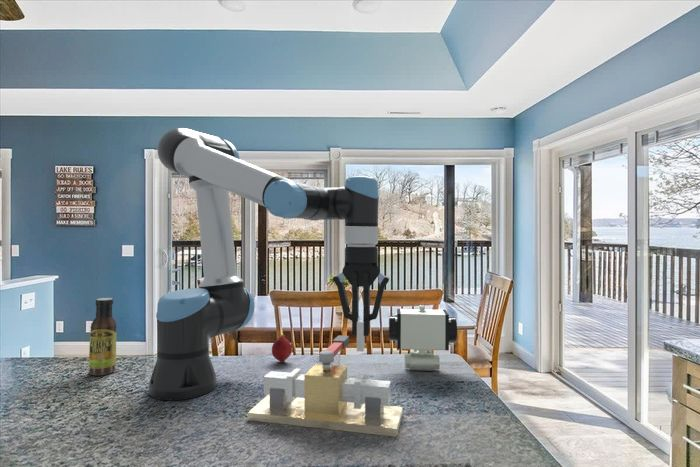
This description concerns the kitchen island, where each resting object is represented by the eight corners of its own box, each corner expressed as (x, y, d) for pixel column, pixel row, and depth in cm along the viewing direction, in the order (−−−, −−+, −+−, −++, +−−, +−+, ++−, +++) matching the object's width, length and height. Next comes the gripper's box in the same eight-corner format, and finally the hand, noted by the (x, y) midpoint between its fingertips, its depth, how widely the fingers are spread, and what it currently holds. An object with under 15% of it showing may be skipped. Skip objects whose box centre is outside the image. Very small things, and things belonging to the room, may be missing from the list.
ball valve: (452, 365, 120) (452, 303, 120) (457, 375, 111) (457, 308, 111) (389, 363, 121) (389, 301, 121) (388, 373, 113) (389, 307, 113)
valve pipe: (247, 420, 85) (247, 364, 85) (268, 400, 94) (268, 350, 94) (396, 436, 78) (396, 376, 78) (402, 414, 87) (402, 360, 87)
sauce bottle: (85, 377, 109) (85, 301, 109) (93, 370, 115) (93, 297, 115) (112, 375, 111) (112, 300, 111) (119, 368, 117) (119, 296, 117)
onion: (282, 366, 118) (282, 338, 118) (267, 363, 122) (267, 335, 122) (295, 361, 123) (295, 333, 123) (281, 358, 126) (281, 331, 126)
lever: (331, 364, 84) (331, 355, 84) (317, 362, 85) (317, 354, 85) (349, 343, 100) (350, 335, 100) (337, 342, 100) (337, 335, 100)
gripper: (391, 245, 98) (390, 346, 98) (336, 244, 100) (335, 344, 100) (389, 246, 91) (388, 356, 91) (329, 245, 93) (329, 353, 93)
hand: (360, 349), depth 95 cm, fingers closed
